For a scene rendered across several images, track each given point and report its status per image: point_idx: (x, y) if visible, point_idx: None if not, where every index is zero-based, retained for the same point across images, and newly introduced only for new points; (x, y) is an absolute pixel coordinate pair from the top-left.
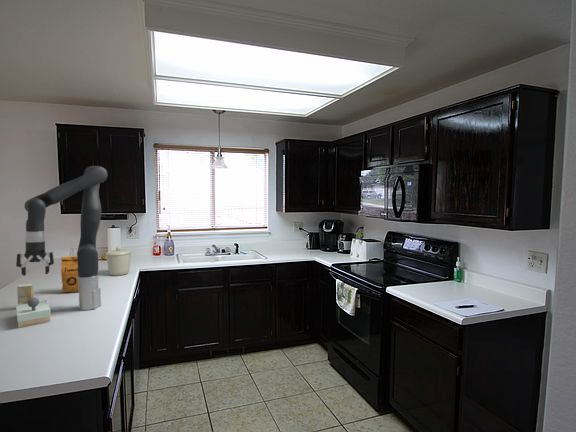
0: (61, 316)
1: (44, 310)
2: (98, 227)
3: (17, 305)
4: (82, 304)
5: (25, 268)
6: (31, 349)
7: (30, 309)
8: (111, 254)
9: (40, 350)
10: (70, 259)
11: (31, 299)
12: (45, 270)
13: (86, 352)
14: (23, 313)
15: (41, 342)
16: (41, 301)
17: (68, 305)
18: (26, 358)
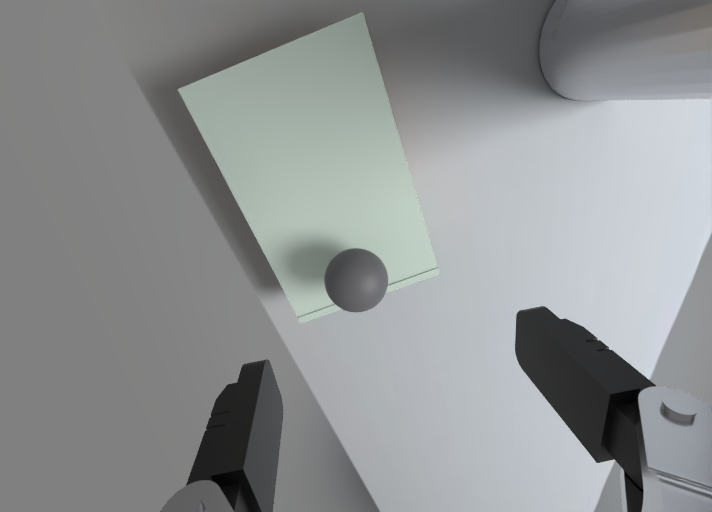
0: (453, 171)
1: (412, 283)
2: None
3: (193, 102)
4: (579, 90)
5: (259, 477)
6: (416, 459)
7: (327, 235)
8: None
9: (441, 468)
10: None
11: (354, 309)
12: (551, 403)
13: (546, 494)
14: (318, 298)
15: (431, 425)
16: (332, 41)
17: None
18: (419, 497)
